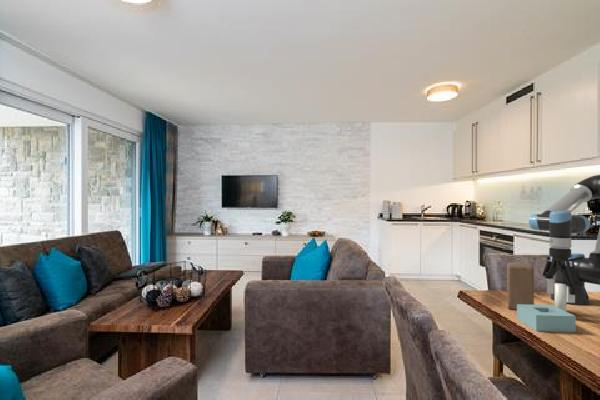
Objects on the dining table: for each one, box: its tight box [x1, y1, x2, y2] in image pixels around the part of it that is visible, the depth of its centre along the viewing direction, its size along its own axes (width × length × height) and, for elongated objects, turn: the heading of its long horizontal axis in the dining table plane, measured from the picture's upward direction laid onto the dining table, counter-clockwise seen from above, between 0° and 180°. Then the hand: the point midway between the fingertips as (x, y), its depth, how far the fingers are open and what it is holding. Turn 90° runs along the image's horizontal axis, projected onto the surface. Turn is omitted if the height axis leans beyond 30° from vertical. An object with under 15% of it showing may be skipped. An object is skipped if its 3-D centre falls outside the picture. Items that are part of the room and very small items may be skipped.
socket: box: [516, 304, 577, 333], centre depth 140 cm, size 14×14×6 cm
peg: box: [554, 282, 567, 312], centre depth 148 cm, size 4×4×14 cm
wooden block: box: [506, 262, 535, 311], centre depth 161 cm, size 10×10×20 cm
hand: (559, 297), depth 148 cm, fingers open, 13 cm apart
